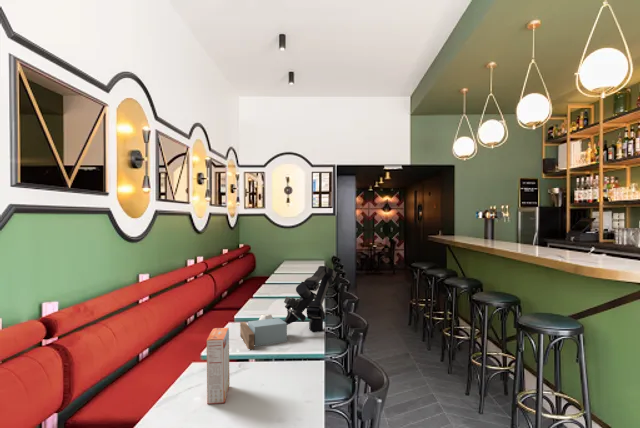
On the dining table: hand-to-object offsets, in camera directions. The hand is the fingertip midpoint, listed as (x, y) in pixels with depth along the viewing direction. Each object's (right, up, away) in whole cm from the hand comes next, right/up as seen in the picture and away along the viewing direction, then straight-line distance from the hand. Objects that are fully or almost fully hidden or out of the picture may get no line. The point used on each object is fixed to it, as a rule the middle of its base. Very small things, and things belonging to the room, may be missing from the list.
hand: (283, 325), depth 200 cm
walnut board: (-17, -7, -6) cm, 20 cm away
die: (-11, -7, +16) cm, 21 cm away
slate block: (-8, -7, -3) cm, 11 cm away
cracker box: (-16, -6, -65) cm, 67 cm away
